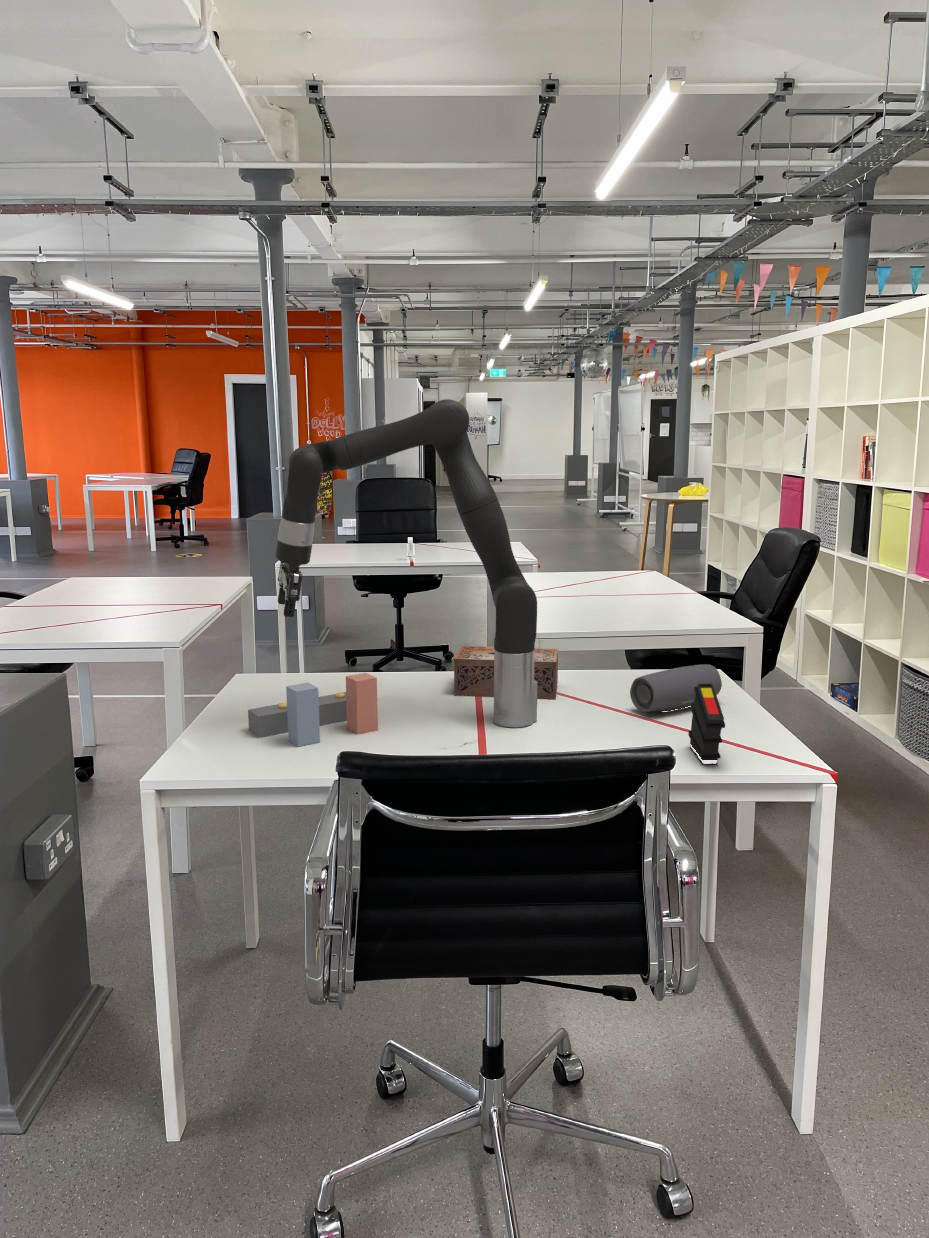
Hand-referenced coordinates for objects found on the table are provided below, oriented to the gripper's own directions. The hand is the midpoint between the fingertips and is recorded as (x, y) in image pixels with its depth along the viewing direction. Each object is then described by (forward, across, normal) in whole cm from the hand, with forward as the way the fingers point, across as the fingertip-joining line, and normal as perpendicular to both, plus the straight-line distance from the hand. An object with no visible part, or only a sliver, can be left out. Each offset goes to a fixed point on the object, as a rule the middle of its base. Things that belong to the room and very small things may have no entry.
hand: (285, 609), depth 198 cm
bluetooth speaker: (+10, -22, -93) cm, 96 cm away
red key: (+21, -15, -18) cm, 32 cm away
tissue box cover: (+20, +6, -62) cm, 65 cm away
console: (+24, -13, -10) cm, 29 cm away
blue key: (+23, -19, -4) cm, 30 cm away
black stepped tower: (+8, -53, -79) cm, 96 cm away
